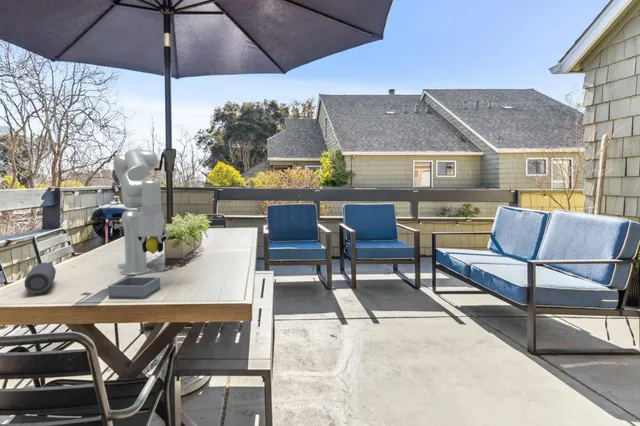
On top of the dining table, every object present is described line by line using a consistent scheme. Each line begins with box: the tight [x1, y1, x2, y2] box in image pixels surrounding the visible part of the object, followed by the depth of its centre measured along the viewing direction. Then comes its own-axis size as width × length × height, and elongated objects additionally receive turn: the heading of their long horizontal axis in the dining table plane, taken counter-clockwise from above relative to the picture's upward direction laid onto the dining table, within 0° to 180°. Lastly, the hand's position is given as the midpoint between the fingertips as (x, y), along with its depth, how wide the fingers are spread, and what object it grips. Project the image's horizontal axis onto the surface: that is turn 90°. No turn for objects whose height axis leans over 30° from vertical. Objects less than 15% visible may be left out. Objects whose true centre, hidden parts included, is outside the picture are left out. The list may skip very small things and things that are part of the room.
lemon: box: [146, 237, 159, 255], centre depth 162 cm, size 6×6×8 cm
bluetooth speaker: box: [23, 262, 57, 294], centre depth 159 cm, size 23×9×10 cm, turn 30°
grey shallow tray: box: [107, 276, 161, 300], centre depth 153 cm, size 14×14×5 cm
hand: (153, 251), depth 162 cm, fingers closed on lemon, 5 cm apart
